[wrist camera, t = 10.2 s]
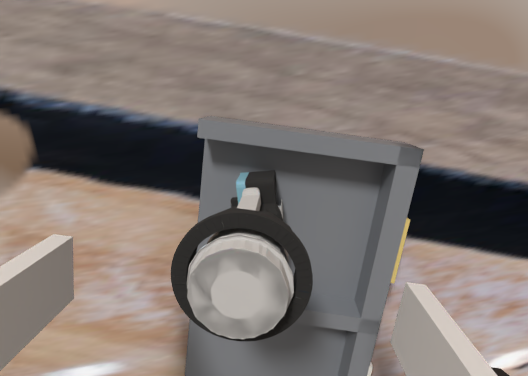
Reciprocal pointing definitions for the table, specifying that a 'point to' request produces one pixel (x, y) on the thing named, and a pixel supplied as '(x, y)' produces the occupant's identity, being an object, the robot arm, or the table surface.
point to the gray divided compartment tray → (314, 241)
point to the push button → (243, 266)
